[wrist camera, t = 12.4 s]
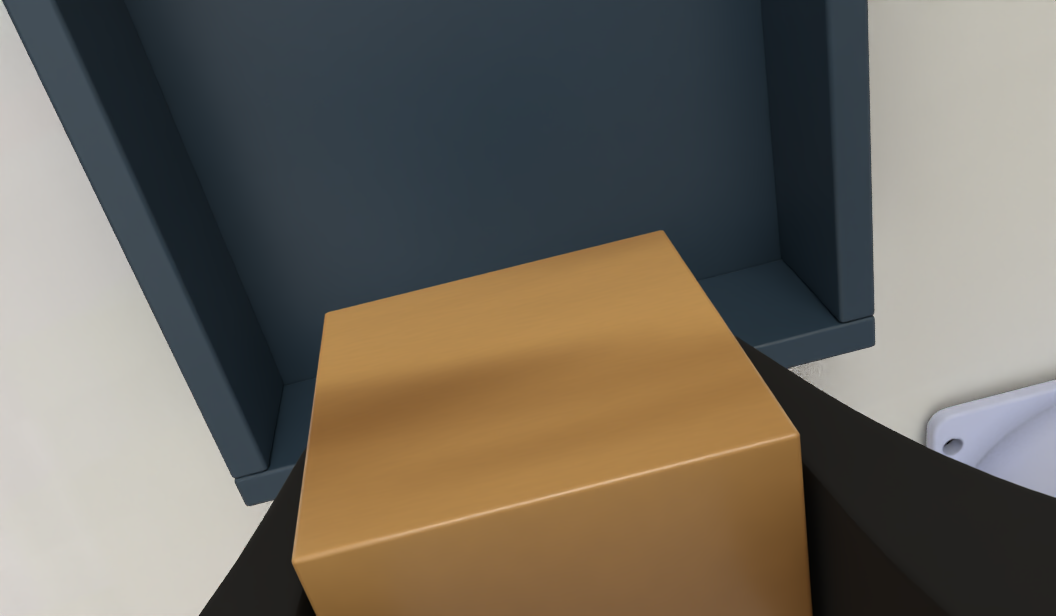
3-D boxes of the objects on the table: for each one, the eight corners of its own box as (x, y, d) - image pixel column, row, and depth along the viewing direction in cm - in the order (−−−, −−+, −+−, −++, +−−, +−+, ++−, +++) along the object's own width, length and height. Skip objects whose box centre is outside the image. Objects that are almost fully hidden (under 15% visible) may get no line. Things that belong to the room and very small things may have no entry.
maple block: (700, 490, 14) (824, 754, 10) (415, 562, 14) (425, 857, 10) (662, 228, 12) (802, 433, 8) (323, 311, 12) (289, 562, 8)
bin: (803, 268, 20) (876, 347, 17) (267, 404, 20) (245, 509, 17) (748, -581, 13) (855, -701, 10) (-77, -386, 13) (-218, -450, 10)
